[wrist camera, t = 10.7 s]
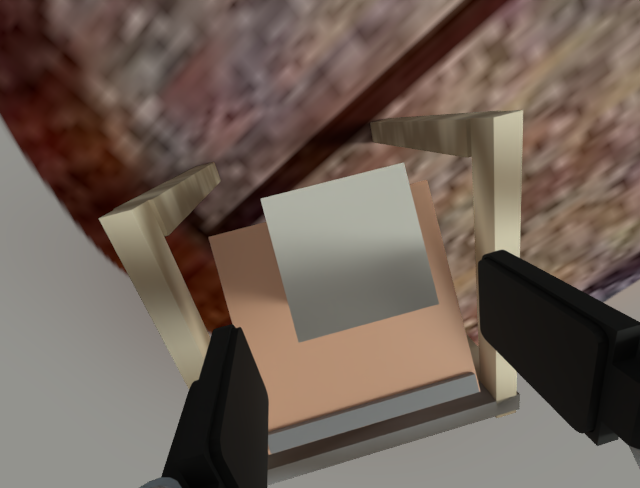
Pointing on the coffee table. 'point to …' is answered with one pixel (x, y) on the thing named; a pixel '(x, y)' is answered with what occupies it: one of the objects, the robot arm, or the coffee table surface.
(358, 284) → the smooth gray block
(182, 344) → the trapdoor frame
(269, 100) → the coffee table surface
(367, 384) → the trapdoor
